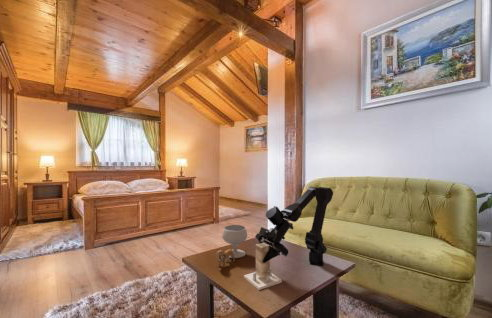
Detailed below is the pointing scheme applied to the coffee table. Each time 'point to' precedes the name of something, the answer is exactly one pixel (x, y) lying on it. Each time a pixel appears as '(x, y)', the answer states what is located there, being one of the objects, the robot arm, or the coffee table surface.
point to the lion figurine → (224, 256)
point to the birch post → (261, 267)
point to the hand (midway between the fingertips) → (260, 260)
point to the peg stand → (262, 280)
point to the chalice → (235, 238)
